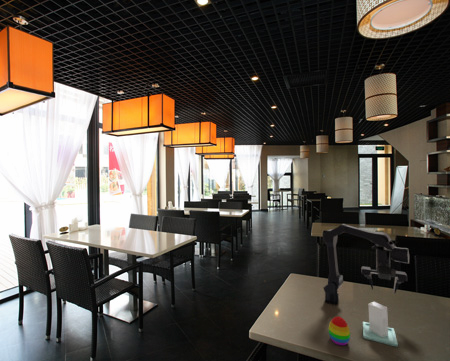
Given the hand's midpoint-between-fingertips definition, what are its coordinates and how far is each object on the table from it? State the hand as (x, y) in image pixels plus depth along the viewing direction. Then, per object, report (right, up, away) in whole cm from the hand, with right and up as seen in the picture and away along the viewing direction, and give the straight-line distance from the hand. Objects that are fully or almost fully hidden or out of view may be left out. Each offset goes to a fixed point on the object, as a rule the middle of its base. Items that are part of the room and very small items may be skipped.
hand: (383, 291), depth 122 cm
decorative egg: (-30, -13, -18) cm, 37 cm away
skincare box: (-11, -13, -13) cm, 21 cm away
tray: (-11, -13, -14) cm, 22 cm away
